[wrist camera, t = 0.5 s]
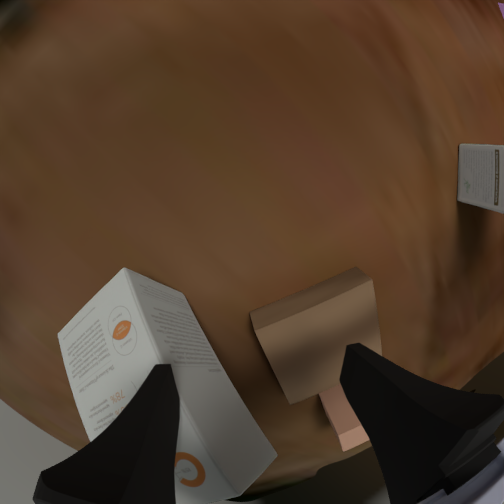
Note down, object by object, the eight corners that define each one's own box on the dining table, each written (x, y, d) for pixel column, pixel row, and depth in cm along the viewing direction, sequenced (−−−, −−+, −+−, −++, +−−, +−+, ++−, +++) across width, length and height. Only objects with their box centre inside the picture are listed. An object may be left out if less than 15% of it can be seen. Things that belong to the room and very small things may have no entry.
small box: (117, 345, 20) (186, 489, 14) (55, 332, 15) (127, 518, 8) (186, 291, 20) (281, 455, 13) (124, 262, 14) (240, 498, 8)
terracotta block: (357, 396, 26) (380, 433, 20) (324, 411, 26) (343, 451, 20) (353, 375, 25) (379, 415, 19) (317, 391, 25) (338, 435, 19)
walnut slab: (368, 344, 24) (382, 362, 21) (282, 382, 24) (290, 405, 21) (353, 264, 21) (372, 279, 18) (248, 309, 21) (254, 330, 18)
